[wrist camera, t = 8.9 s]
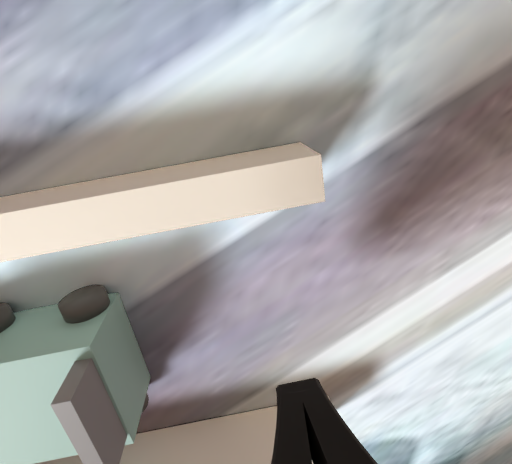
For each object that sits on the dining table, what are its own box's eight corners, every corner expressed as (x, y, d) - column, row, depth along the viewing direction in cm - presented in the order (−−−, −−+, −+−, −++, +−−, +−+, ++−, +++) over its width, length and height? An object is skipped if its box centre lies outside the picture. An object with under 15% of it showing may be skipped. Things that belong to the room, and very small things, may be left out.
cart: (114, 279, 15) (59, 372, 10) (154, 385, 17) (126, 502, 12) (-25, 306, 14) (-152, 414, 10) (35, 409, 17) (-42, 537, 12)
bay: (300, 142, 13) (320, 154, 10) (330, 414, 19) (349, 470, 16) (-159, 226, 13) (-264, 262, 10) (16, 478, 18) (-20, 546, 16)
